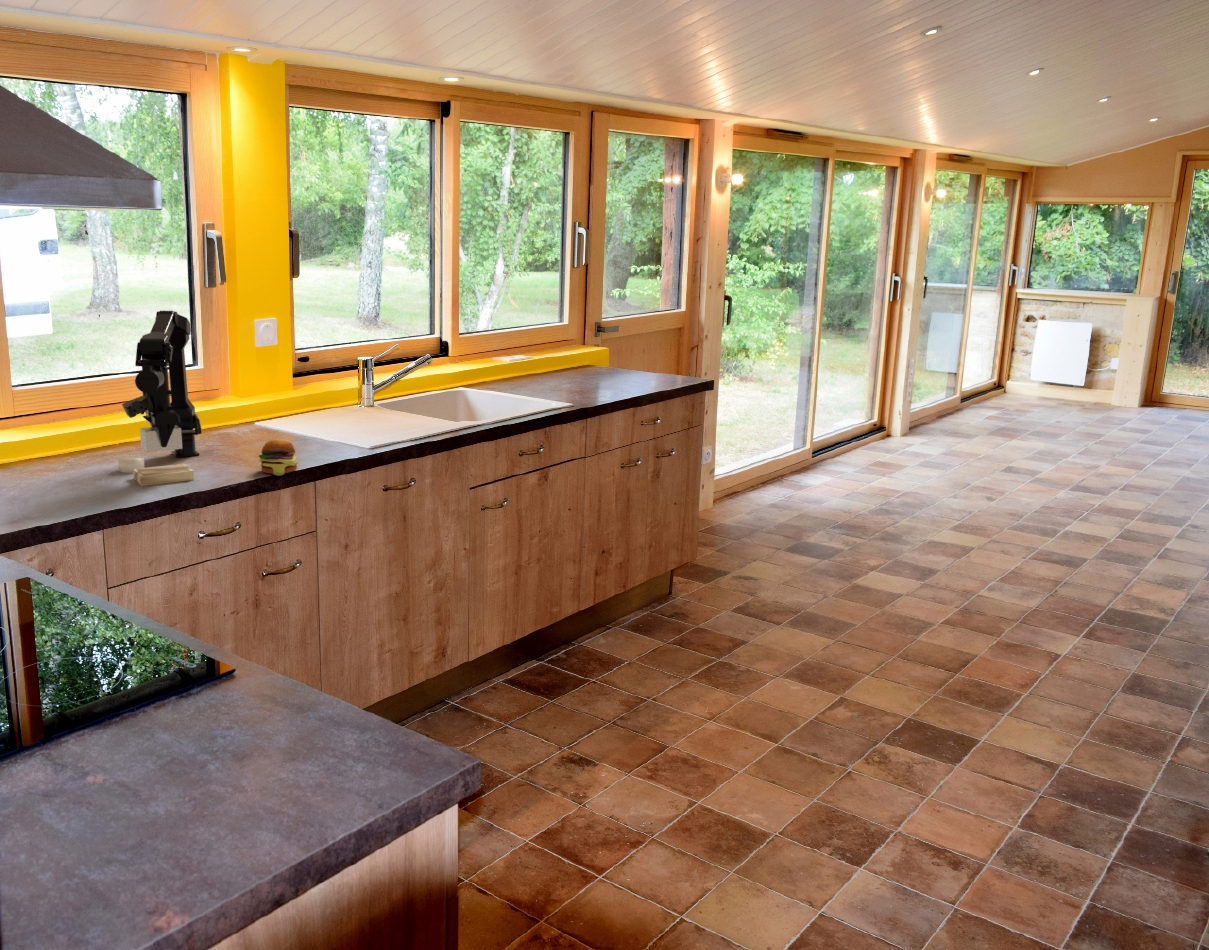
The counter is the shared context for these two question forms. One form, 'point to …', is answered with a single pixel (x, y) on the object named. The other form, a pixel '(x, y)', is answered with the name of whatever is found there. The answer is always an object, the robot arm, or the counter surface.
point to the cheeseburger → (278, 457)
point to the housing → (152, 441)
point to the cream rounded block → (130, 463)
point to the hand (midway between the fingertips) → (161, 445)
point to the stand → (163, 474)
